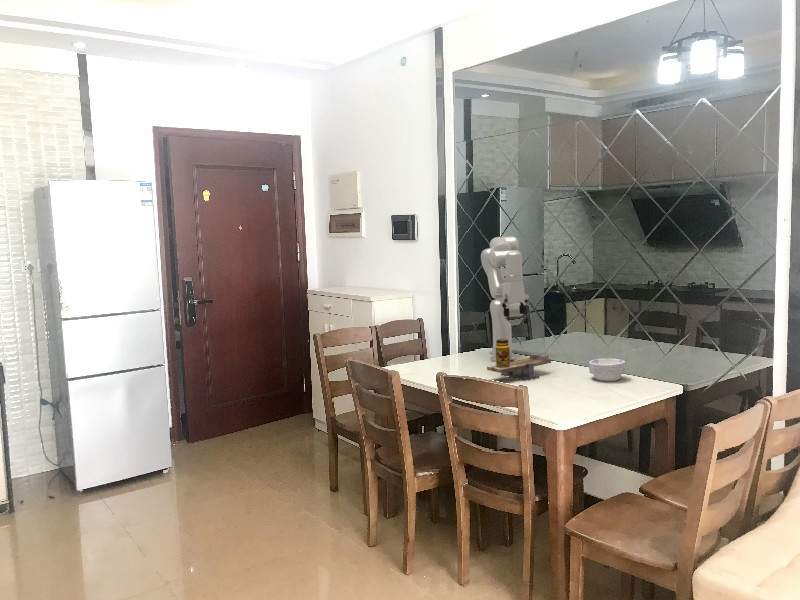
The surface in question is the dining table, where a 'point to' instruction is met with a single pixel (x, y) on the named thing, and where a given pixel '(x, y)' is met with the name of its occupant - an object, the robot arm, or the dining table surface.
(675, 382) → the dining table surface
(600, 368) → the lavender white bowl
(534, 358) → the beam
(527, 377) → the stand
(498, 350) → the condiment
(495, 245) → the robot arm
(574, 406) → the dining table surface
